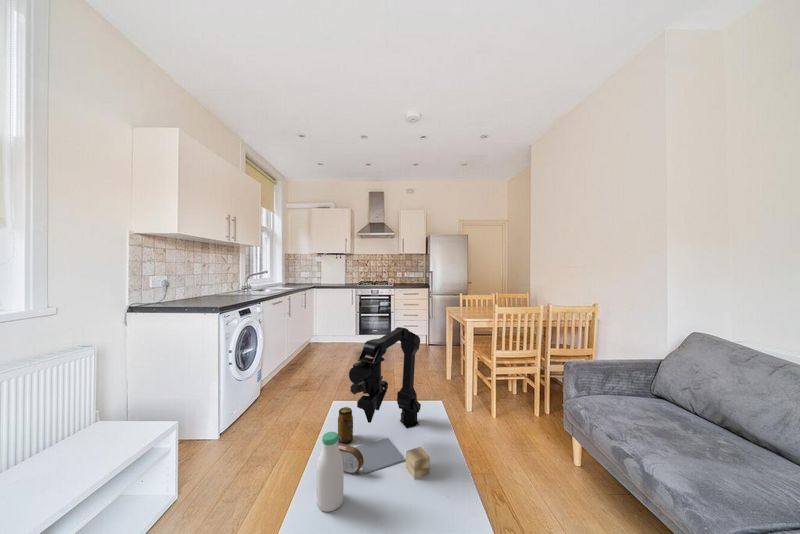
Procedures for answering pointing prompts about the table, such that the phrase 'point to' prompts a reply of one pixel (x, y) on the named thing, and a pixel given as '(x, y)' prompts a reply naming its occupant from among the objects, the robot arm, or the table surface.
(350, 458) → the tin
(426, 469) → the oak cube
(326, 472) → the milk bottle
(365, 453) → the slate mat
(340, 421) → the condiment
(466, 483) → the table surface
